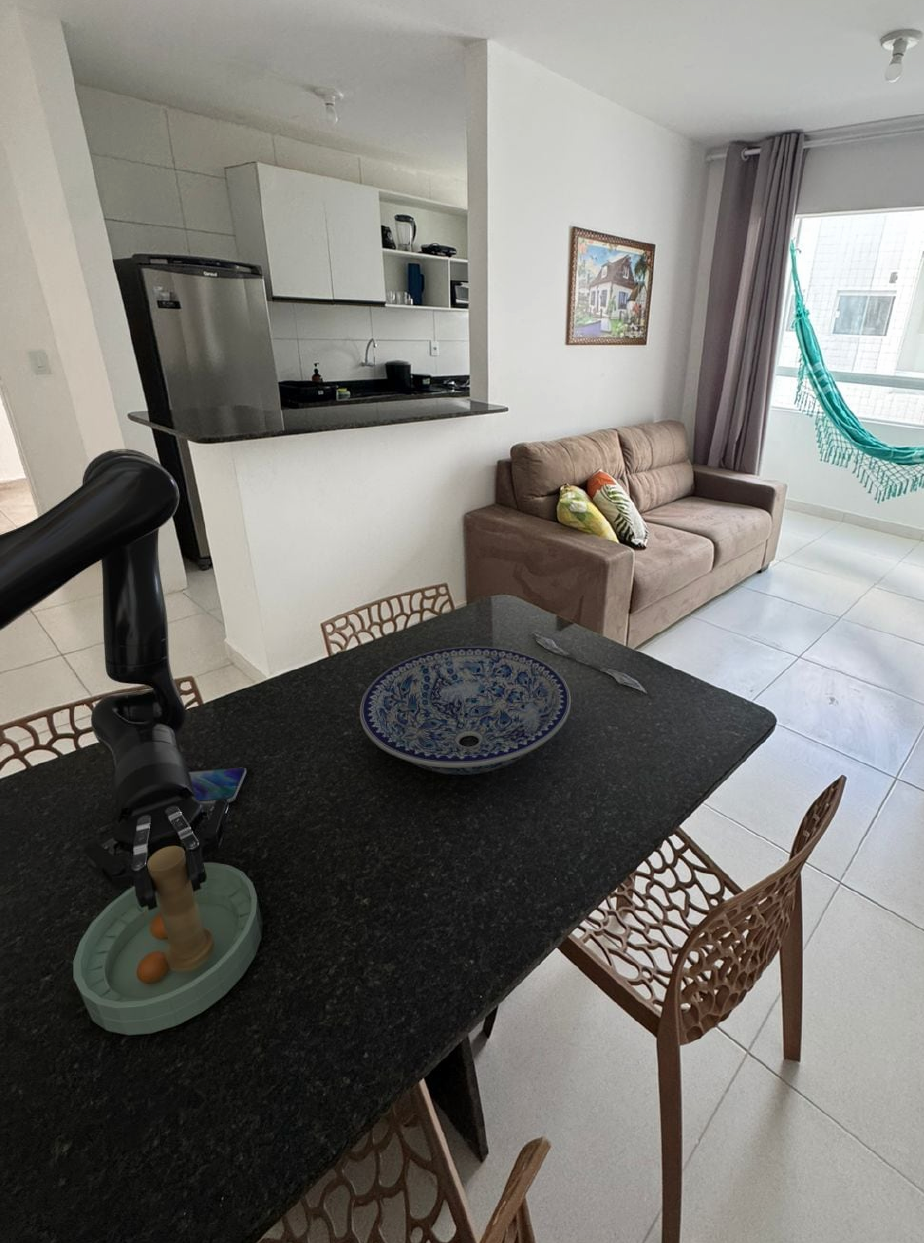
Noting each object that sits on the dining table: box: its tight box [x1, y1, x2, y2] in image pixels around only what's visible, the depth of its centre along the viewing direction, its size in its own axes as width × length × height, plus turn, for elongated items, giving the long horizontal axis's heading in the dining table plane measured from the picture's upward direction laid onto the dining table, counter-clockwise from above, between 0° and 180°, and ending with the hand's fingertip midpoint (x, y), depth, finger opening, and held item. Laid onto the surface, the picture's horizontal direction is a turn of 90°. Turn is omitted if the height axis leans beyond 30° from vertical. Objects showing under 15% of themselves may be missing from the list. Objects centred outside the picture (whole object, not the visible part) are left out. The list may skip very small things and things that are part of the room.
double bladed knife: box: [533, 632, 647, 694], centre depth 133 cm, size 32×1×5 cm
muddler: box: [147, 846, 214, 973], centre depth 66 cm, size 4×4×14 cm
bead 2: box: [136, 951, 169, 984], centre depth 68 cm, size 3×3×3 cm
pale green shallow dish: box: [72, 862, 263, 1036], centre depth 70 cm, size 17×17×5 cm
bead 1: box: [150, 912, 168, 939], centre depth 72 cm, size 3×3×3 cm
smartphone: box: [189, 767, 247, 806], centre depth 94 cm, size 7×1×15 cm
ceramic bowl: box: [359, 646, 572, 776], centre depth 106 cm, size 34×34×10 cm
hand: (174, 892), depth 62 cm, fingers closed on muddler, 3 cm apart
